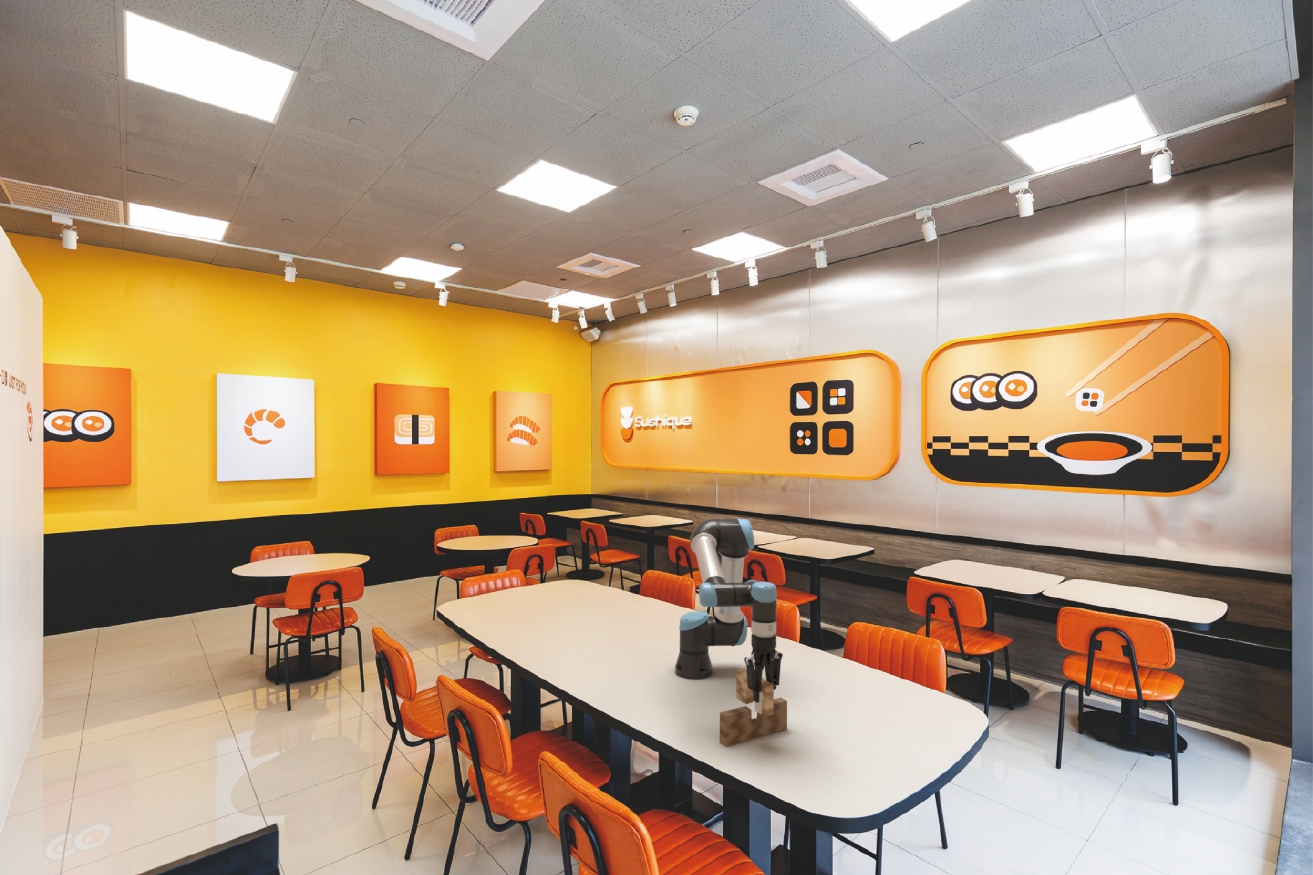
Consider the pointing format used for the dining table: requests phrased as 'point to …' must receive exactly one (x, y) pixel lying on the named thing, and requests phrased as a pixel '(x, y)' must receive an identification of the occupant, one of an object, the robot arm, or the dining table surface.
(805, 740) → the dining table surface
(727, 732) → the walnut board
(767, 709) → the oak plate
